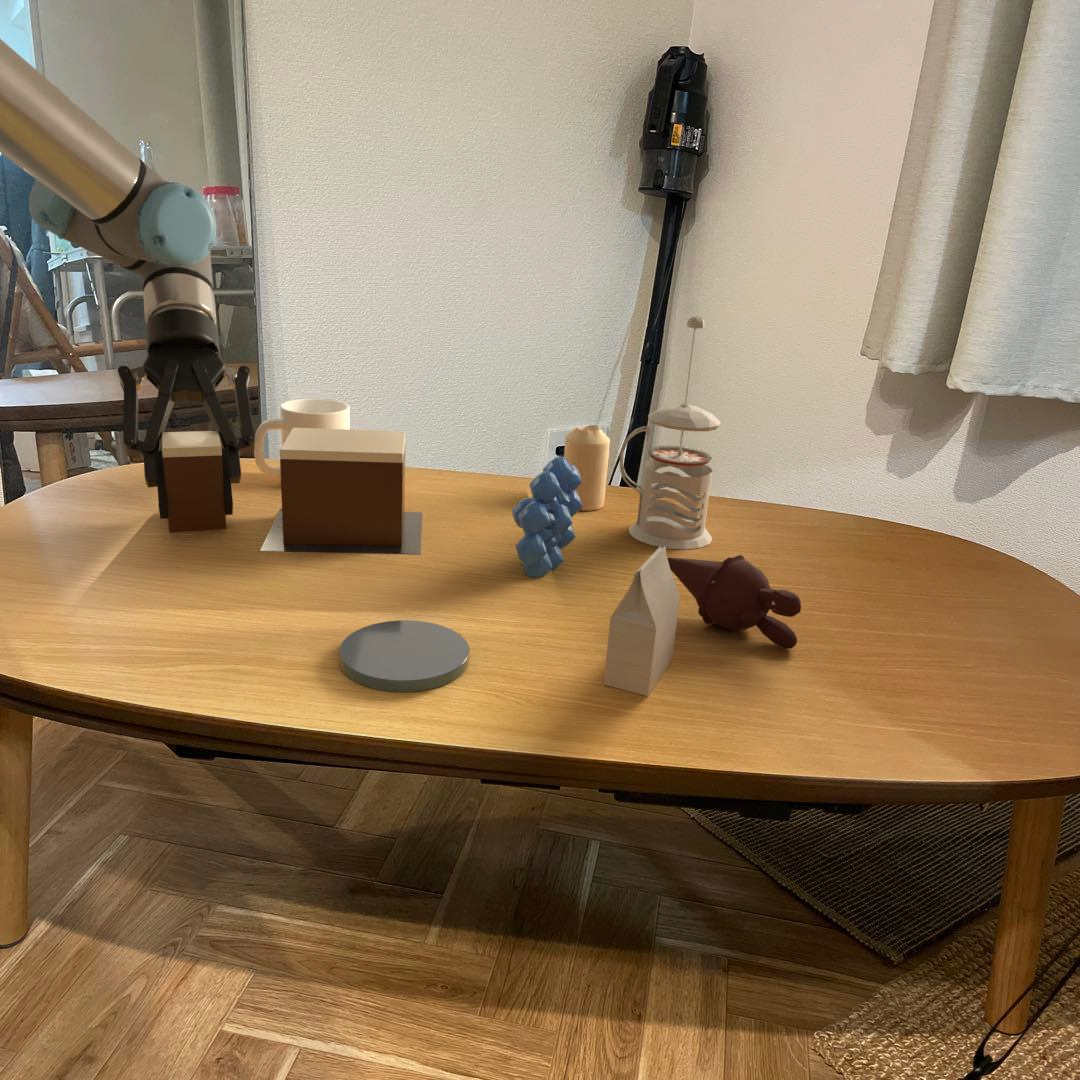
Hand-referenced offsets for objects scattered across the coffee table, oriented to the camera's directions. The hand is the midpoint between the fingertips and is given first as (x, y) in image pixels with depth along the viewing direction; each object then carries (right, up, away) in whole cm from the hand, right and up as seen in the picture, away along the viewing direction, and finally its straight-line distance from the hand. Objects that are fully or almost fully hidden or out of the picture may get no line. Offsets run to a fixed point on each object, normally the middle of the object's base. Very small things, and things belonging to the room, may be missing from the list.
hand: (196, 510), depth 93 cm
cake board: (+15, -3, +4) cm, 15 cm away
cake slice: (-2, -2, +4) cm, 5 cm away
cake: (+15, -2, +4) cm, 15 cm away
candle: (+41, +1, +21) cm, 46 cm away
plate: (+24, -13, -20) cm, 34 cm away
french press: (+50, -2, +13) cm, 51 cm away
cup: (+6, +3, +20) cm, 21 cm away
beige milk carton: (+44, -14, -19) cm, 50 cm away
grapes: (+35, -6, 0) cm, 36 cm away
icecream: (+52, -11, -9) cm, 54 cm away
